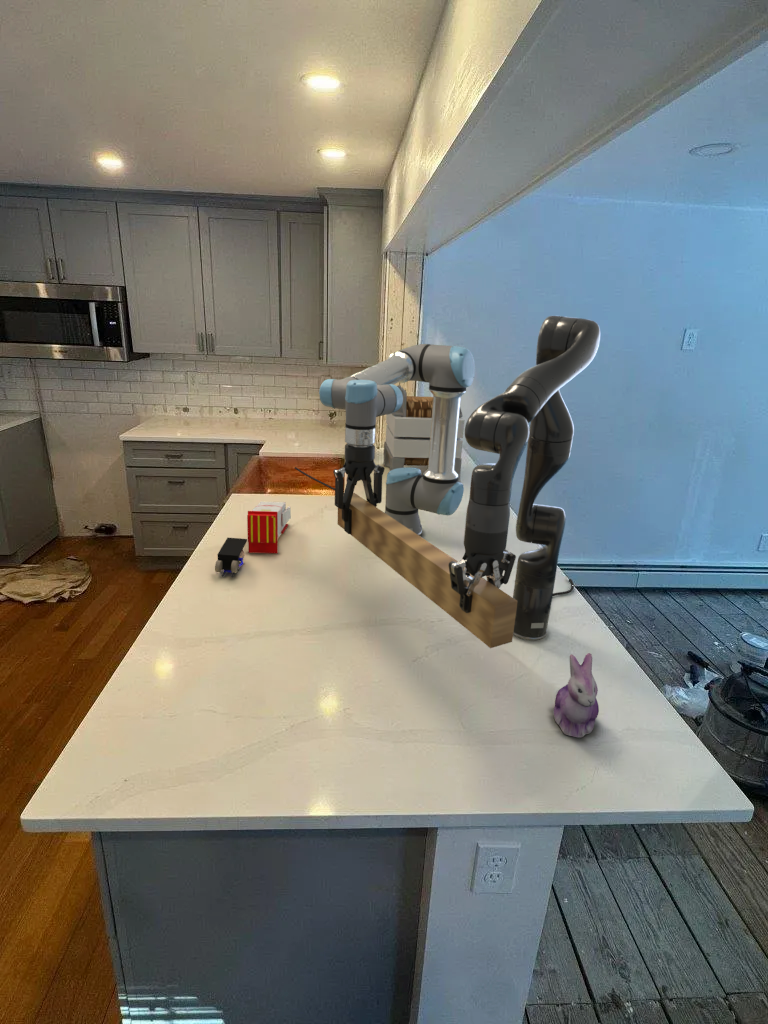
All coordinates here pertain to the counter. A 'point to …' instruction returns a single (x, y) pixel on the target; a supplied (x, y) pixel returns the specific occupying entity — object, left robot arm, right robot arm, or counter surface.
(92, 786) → the counter surface
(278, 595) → the counter surface
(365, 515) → the bar
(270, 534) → the toy
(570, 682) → the figurine
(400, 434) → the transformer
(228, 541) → the figurine character
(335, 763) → the counter surface
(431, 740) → the counter surface
